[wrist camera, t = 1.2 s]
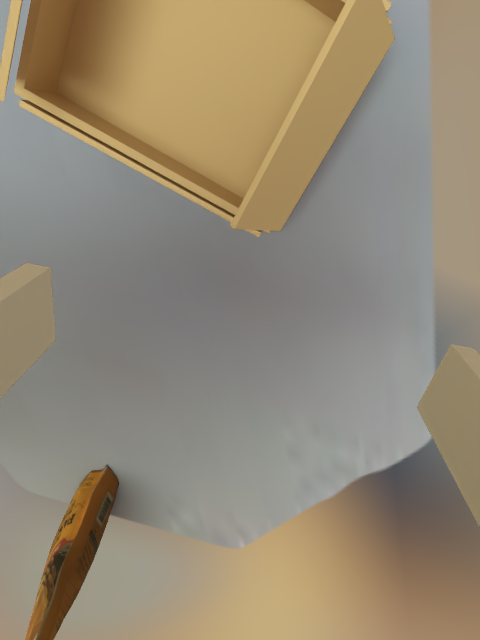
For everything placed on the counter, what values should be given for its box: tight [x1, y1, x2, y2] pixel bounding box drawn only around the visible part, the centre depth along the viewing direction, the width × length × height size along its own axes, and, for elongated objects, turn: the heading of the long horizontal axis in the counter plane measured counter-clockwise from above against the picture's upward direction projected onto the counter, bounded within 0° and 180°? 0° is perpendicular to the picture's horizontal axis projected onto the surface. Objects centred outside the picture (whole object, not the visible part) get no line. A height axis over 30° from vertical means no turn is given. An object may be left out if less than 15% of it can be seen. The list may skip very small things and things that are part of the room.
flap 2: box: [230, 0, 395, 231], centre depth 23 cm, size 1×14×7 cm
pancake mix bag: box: [25, 465, 119, 640], centre depth 43 cm, size 7×19×28 cm, turn 153°
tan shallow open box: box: [14, 0, 392, 237], centre depth 27 cm, size 21×16×5 cm
